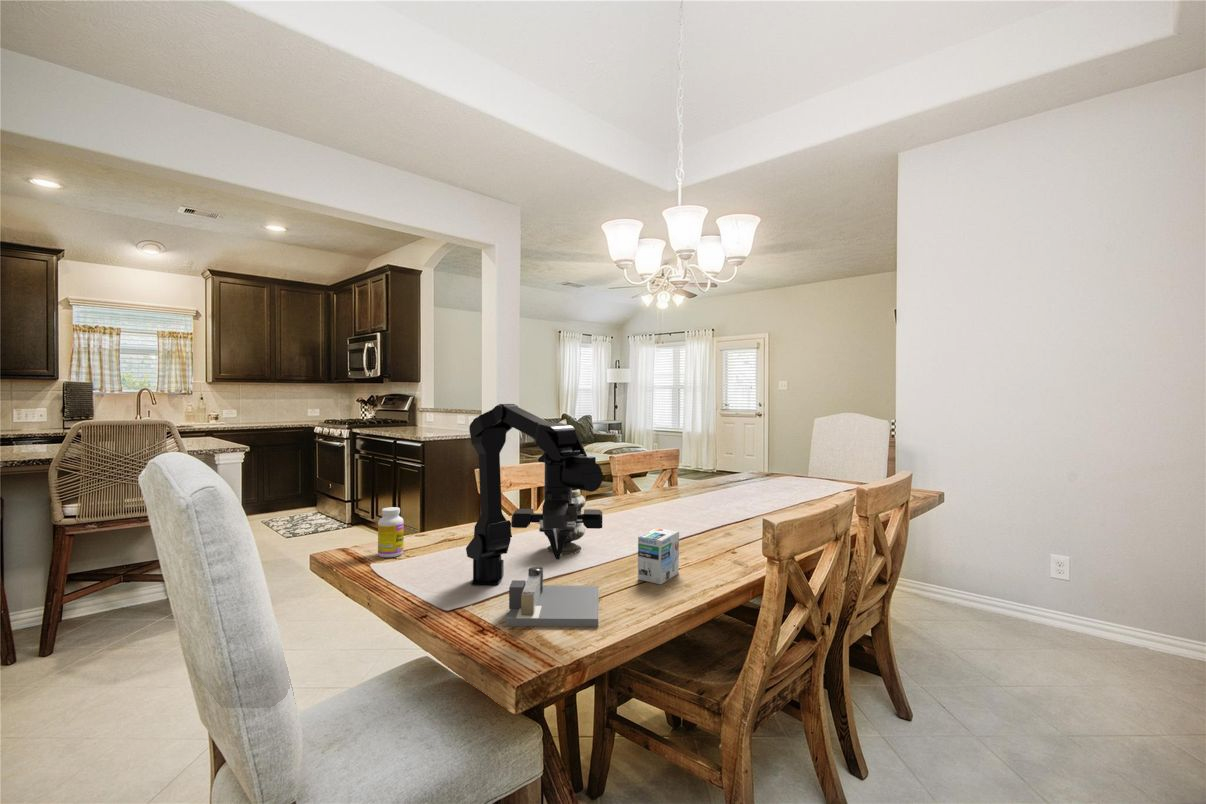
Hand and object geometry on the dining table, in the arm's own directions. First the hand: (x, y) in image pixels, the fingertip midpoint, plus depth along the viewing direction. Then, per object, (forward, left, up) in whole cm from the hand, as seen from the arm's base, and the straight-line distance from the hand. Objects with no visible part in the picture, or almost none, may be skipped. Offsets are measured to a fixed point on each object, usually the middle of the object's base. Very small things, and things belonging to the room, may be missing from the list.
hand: (557, 559), depth 114 cm
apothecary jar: (-1, +43, -11) cm, 45 cm away
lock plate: (0, +1, -11) cm, 11 cm away
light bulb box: (+24, +21, -11) cm, 34 cm away
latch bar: (-5, +1, -9) cm, 11 cm away
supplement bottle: (-49, +37, -11) cm, 63 cm away
